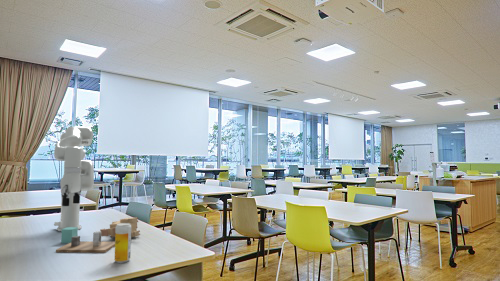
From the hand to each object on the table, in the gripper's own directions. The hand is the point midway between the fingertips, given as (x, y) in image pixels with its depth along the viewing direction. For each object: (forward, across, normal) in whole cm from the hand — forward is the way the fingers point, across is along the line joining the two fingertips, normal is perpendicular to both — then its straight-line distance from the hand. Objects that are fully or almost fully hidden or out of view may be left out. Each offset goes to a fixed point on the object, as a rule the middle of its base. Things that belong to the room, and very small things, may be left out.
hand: (71, 204), depth 159 cm
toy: (+19, -9, +21) cm, 30 cm away
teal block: (+18, 0, 0) cm, 18 cm away
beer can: (+19, +29, +38) cm, 51 cm away
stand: (+19, +11, +15) cm, 26 cm away
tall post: (+17, +11, +19) cm, 28 cm away
